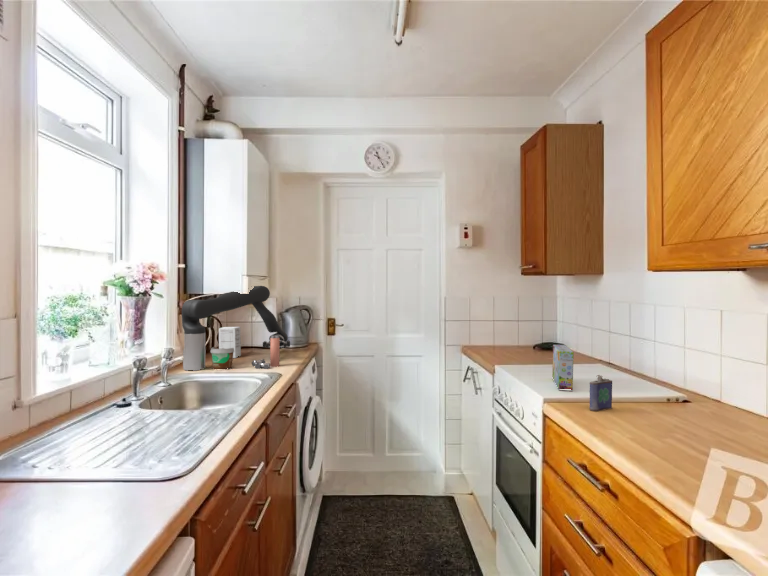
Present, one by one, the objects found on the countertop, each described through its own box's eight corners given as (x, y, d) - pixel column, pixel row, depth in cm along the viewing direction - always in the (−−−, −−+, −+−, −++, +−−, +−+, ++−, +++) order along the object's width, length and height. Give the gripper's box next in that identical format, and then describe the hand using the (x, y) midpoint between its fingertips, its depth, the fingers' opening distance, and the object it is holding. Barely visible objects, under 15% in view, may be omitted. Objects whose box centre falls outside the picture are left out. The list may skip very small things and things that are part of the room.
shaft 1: (256, 366, 204) (256, 360, 204) (251, 366, 205) (251, 360, 205) (265, 364, 210) (265, 358, 210) (260, 364, 211) (260, 358, 211)
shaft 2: (254, 368, 199) (254, 362, 199) (257, 367, 202) (257, 361, 202) (267, 369, 198) (267, 362, 198) (270, 367, 201) (270, 361, 201)
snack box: (574, 392, 153) (574, 351, 153) (558, 391, 155) (558, 351, 155) (565, 380, 174) (565, 344, 174) (551, 379, 175) (551, 343, 175)
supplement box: (241, 355, 237) (241, 326, 238) (235, 358, 228) (235, 328, 228) (224, 355, 237) (224, 326, 237) (218, 358, 228) (218, 328, 228)
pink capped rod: (268, 366, 204) (268, 336, 204) (274, 364, 208) (274, 335, 208) (275, 367, 202) (275, 336, 202) (281, 365, 206) (281, 335, 206)
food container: (204, 369, 196) (204, 348, 196) (213, 367, 202) (213, 346, 202) (226, 370, 193) (226, 349, 193) (234, 368, 199) (234, 347, 199)
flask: (594, 411, 128) (594, 377, 128) (586, 409, 131) (586, 375, 131) (614, 408, 132) (614, 375, 132) (605, 406, 135) (605, 373, 135)
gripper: (264, 335, 230) (261, 339, 215) (290, 334, 233) (289, 338, 218) (264, 348, 230) (261, 353, 215) (290, 348, 233) (289, 352, 218)
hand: (276, 345), depth 216 cm, fingers open, 8 cm apart
